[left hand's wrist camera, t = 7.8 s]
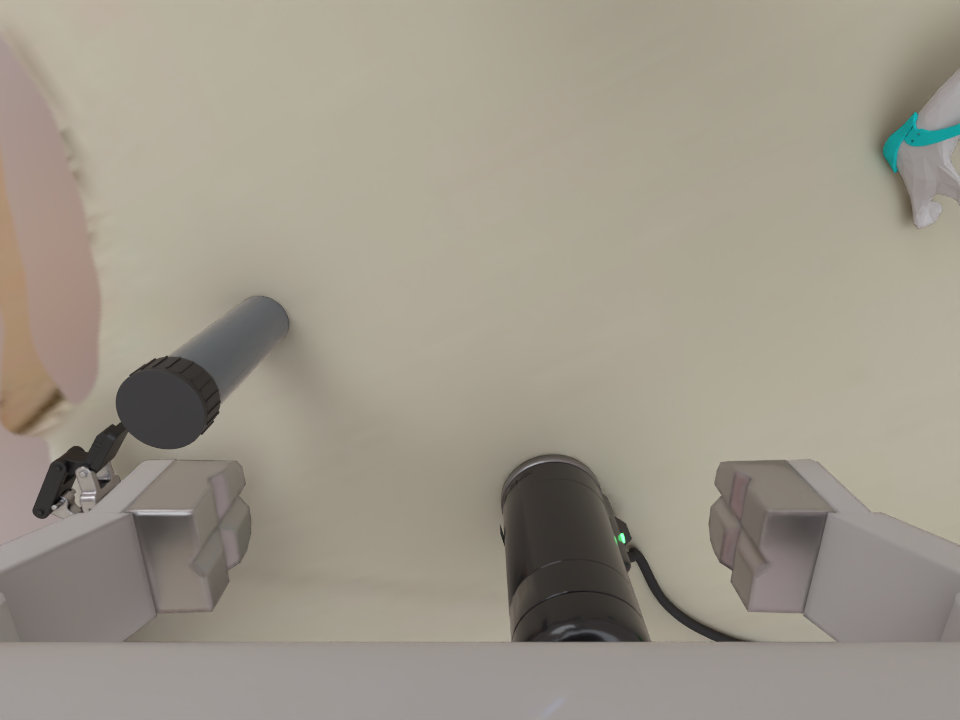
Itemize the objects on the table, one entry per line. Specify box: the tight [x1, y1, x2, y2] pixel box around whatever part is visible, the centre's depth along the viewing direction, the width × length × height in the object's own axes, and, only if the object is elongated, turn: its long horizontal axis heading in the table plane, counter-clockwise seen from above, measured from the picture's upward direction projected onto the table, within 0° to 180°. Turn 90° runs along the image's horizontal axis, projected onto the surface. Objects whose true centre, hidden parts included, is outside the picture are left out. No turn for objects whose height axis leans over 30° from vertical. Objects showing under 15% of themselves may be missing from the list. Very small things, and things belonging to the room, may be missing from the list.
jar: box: [168, 296, 289, 406], centre depth 42 cm, size 4×4×17 cm
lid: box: [116, 356, 221, 449], centre depth 35 cm, size 5×5×2 cm
